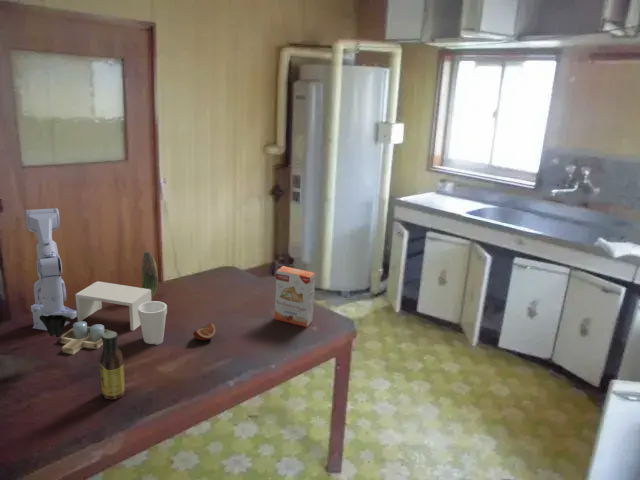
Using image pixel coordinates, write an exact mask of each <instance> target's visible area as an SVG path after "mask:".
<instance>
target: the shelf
mask: <svg viewBox="0 0 640 480" xmlns="http://www.w3.org/2000/svg"><path fill="white" fill-rule="evenodd" d="M74 296H75V305H76V311H77V317H76V319H77V322H79V321H84V320H85V319H86V318H88V317H89V316H91V315H92V314H94V313H95V312H98V310H99V311H100V310H102V309H103V304H102V302H103V303H109V304H116V305H121V306H128V308H129V309H128V310H129V326H130V331H135V330H136V329H137V328H139V327H141V323H140V318H139V315H138V306H139V305H141V304H142V303H145V302H150V301H152V298H151V289H144V288H142V287H138V286H130V285H126V284H125V285H124V284H118V283H111V282H106V281H97V280H96V282H93V283H91V284H90V285H89V286H87V287H85V288H84V289H82V290H80V291H79V292H76V293H75V295H74Z"/></svg>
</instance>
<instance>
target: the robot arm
mask: <svg viewBox="0 0 640 480" xmlns="http://www.w3.org/2000/svg"><path fill="white" fill-rule="evenodd" d="M24 213H25V221H26V222H25V223H26V228H27V230H28V232H30V233H31V232H32V233H35V236H36V238H37V244H36V245H35V246H36V257H37V260H36V270H37V276H38V278H39V279H38V280H37V281H35V282H34V284H33V294H34V304H33V305H31V306H30V312H31V313H32V320H33V327H32V329H37V330H43V331H47V332H48V334H49V336H50V337H53V336H55V338H59V337H60V336H62V335H63V334H64V330H65V329H64V328H65V326H67V325H68V324H70V323H71V322H70V321H67V320H68V318H70V319H71V320H73V319H75V318H77V310H74V309H71V308H70V307H67V306H65V305H64V302H66V301H67V291H66V290H67V289H66V285H65V281H64V279H63V278H62V275H63V266H62V265H63V264H62V259H61V257H60V254H59V250H58V245H57V242H56V241H54V240H53V232H54V231H57V230H59V228H60V225H61V222H60V221H61V219H60V212H59V209H58V208H57V207H55V208H41V209H40V208H39V209H26V210H25V212H24Z"/></svg>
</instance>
